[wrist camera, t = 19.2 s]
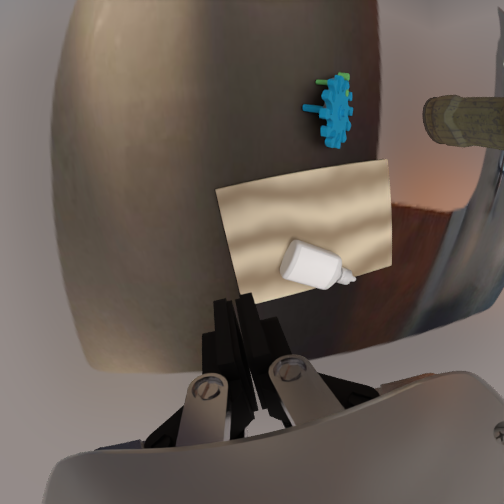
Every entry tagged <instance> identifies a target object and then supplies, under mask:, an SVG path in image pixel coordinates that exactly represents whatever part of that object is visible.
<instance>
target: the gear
mask: <svg viewBox="0 0 504 504" xmlns="http://www.w3.org/2000/svg"><path fill="white" fill-rule="evenodd" d="M349 79H350V75H349V73H338V75H335V78H332V79H328V80H316V84H319V85H328V88H329V89H328V90H324V91H323V93H322V95H321V97H322V99H323V100H324V101H325V103H324V106H317V105H308V104H304V105H303V111H307V112H315V113H319V118H322V119H326V120H327V126H321V136H324V137H326V139H325V144H326V146H327V147H330V148H333V147H334V148H338V149H339V148H340V142H343V143H344V142H345V141H346V132H345V130H346V131H349V130H350V127H351V123H350V122H349V119H348V115H349V116H352V113H353V108H352V107H349V106H348V101H352V92H349V91H348V89H349V82H348V81H349Z"/></svg>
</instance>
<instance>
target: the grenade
mask: <svg viewBox="0 0 504 504" xmlns="http://www.w3.org/2000/svg"><path fill="white" fill-rule="evenodd" d="M423 123H424V126H425V130H426V131H427V133H428V135H429V136H430V138H431V139H432V140H433V141H435V142H436V143H439V144H446V145H449V146H457V147H469V146H481V147H487V148H493V149H499V150H504V97H468V98H463V97H460V96H457V95H446V96H441V97H433V98H430V99H428V100H427V101H426V103H425V105H424V107H423Z"/></svg>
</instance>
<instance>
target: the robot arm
mask: <svg viewBox="0 0 504 504" xmlns="http://www.w3.org/2000/svg"><path fill="white" fill-rule="evenodd" d="M239 296H240V298H239V299H235V301H236V306H237V311H238V317H239V322H240V327H241V332H242V336H241V332H240V329H239V325H238V322H237V318H236V315H235V311H234V307H233V304H232V301H227V300H226V298H225V299H221V300H216V301H214V302H213V303H214V321H215V331H213V332H208V333H204V334H202V375H201V376H198V377H197V378H195V379H194V380H193V381H192V382H191V383H190V385H189V387H188V389H187V394H186V398H185V403H184V405H183V406H182V407H181V408H180V409H179V410H178V411H177V412H176V413H175V414H173V415H172V416H171V417H170V418H169V419H168V420H167V421H165V422H164V423H163V424H162V425H161V426H160V427H159V428H157V429H156V430H155V431H154V432H153V433H152V434H151V435H150V436H149V437H148V438H147V439H146V441H141V440H140V439H139V440H135V441H130V442H126V443H121V444H116V445H111V446H106V447H100V448H98V449H95V450H94V451H88V452H82V453H78V454H75V455H71V456H68V457H66V458H64V459H62V460H60V461H59V462H58V463H57V464H56V465H55V466H54V468H53V469H52V471H51V473H50V475H49V478H48V481H47V484H46V488H45V491H44V495H43V500H42V504H504V399H503V398H502V396H501V395H500V394H499V393H498V392H497V391H496V390H495V389H494V388H493V387H492V386H491V385H489V384H488V383H487V382H486V381H485V380H484V379H482V378H481V377H479V376H478V375H476V374H474V373H471V372H467V371H452V372H447V373H440V374H434V373H425V374H422V375H418V376H414V377H411V378H406V379H402V380H399V381H394V382H390V383H386V384H382V385H380V388H375V389H374V388H372V387H370V386H367V385H363V384H359V383H355V382H351V381H347V380H343V379H339V378H336V377H332V376H328V375H325V374H321V373H318V372H317V371H316V370H315V369H314V367H313V366H312V365H311V363H310V362H309V361H308V360H307V359H306V358H305V357H303V356H300V355H292V353H291V351H290V348H289V346H288V343H287V341H286V338H285V336H284V333H283V331H282V328H281V326H280V323H279V321H278V318H277V317H272V318H268V319H264V320H260V318H259V315H258V312H257V308H256V305H255V302H254V298H253V295H252V292H250V293H246V294H242V295H239ZM242 337H243V339H242ZM243 342H244V343H243ZM249 368H250V369H249ZM250 371H251V373H250ZM251 374H252V378H253V381H254V384H255V387H256V391H257V394H258V397H259V400H260V403H261V406H262V409H268V412H269V415H270V416H271V417H274V418H276V419H278V420H280V421H281V424H282V426H283V428H284V429H281V430H277V431H273V432H269V433H265V434H260V435H255V436H251V437H248V430H247V426H248V425H249V423H250V422H251V421H252V420H253V419H255V417H254V411H258V406H257V402H256V397H255V392H254V388H253V383H252V378H251Z"/></svg>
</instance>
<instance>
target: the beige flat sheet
mask: <svg viewBox="0 0 504 504" xmlns="http://www.w3.org/2000/svg"><path fill="white" fill-rule="evenodd" d="M215 190H216V195H217V199H218V203H219V208H220V212H221V216H222V220H223V225H224V229H225V233H226V237H227V241H228V245H229V250H230V254H231V258H232V262H233V266H234V270H235V274H236V278H237V282H238V286H239V290H240V294H241V295H242V294H246V293H250V292H252V295H253V298H254V302H255V304H257V303H261V302H265V301H269V300H273V299H276V298H280V297H284V296H288V295H292V294H295V293H299V292H303V291H306V290H310V289H314V288H315V287H311V286H308V285H304V284H300V283H297V282H293V281H290V280H286V279H284V278H282V276H281V274H280V266H281V263H282V260H283V257H284V255H285V253H286V251H287V249H288V247H289V245H290V244H291V242H292V241H293V240H300V241H303V242H306V243H309V244H311V245H314V246H317V247H320V248H323V249H325V250H328V251H331V252H334V253H336V254H337V255H339V256H340V257H341V259H342V267H344V268H347V269H350V270H351V271H352V276H354V277H355V276H358V275H362V274H365V273H368V272H371V271H375V270H378V269H381V268H384V267H387V266H390V265H391V263H392V220H391V197H390V182H389V170H388V160H387V159H379V160H371V161H364V162H356V163H349V164H342V165H336V166H329V167H323V168H317V169H311V170H305V171H300V172H294V173H289V174H283V175H278V176H273V177H268V178H263V179H258V180H253V181H249V182H244V183H239V184H235V185H231V186H226V187H222V188H218V189H215Z"/></svg>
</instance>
